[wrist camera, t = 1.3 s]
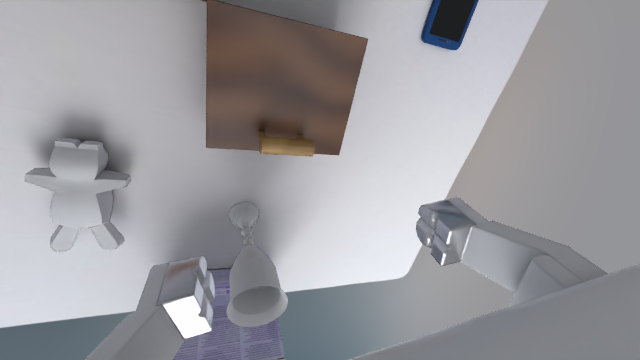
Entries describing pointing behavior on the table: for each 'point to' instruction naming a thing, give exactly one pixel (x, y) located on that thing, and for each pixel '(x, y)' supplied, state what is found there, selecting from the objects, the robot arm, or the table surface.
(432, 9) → the cell phone
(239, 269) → the chalice
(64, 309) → the table surface
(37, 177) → the bunny figurine
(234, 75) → the lid
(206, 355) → the cake pan box
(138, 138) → the table surface
